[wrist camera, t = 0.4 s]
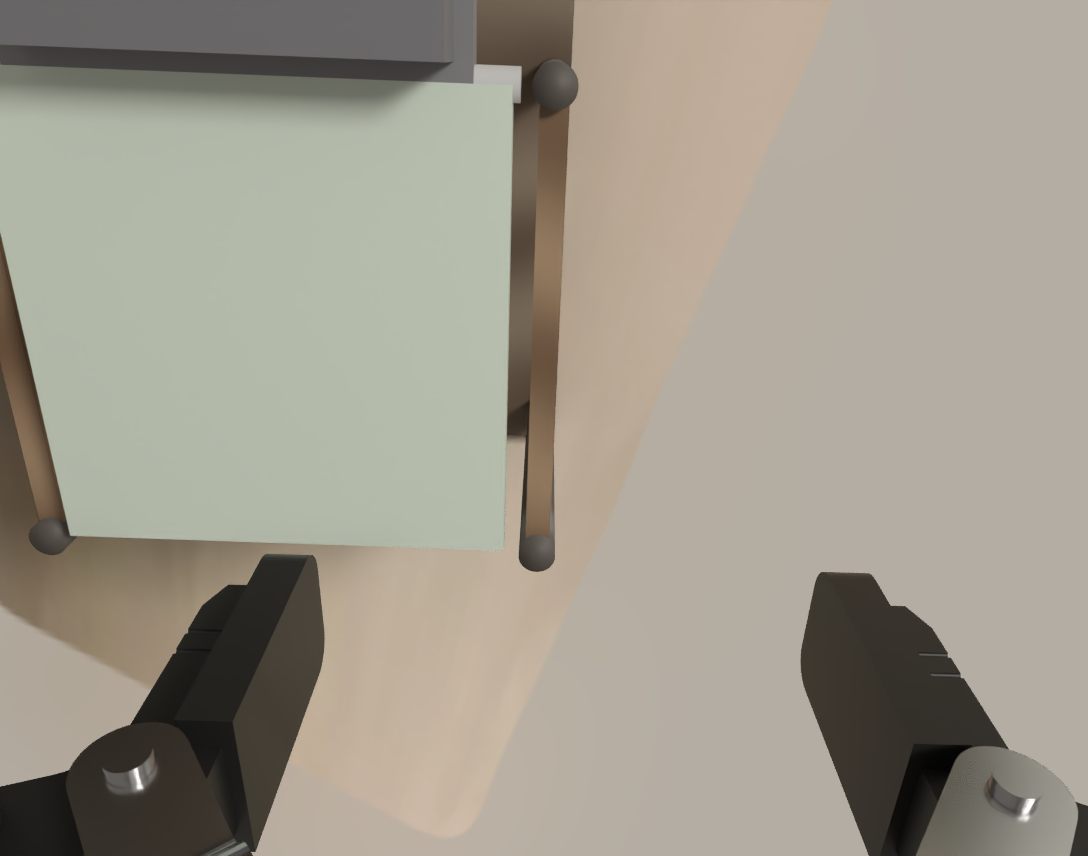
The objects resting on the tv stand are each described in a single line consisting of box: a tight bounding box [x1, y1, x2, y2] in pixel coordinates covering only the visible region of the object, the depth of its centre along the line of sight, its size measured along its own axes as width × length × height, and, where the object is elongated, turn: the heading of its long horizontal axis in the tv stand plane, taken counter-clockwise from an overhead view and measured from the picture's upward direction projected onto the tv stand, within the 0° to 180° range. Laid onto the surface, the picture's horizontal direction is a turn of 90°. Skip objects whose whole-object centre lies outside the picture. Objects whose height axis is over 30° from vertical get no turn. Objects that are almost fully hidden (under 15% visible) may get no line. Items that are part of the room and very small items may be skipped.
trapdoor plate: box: [0, 0, 522, 551], centre depth 23 cm, size 18×14×3 cm
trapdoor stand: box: [0, 0, 578, 572], centre depth 31 cm, size 19×18×14 cm
